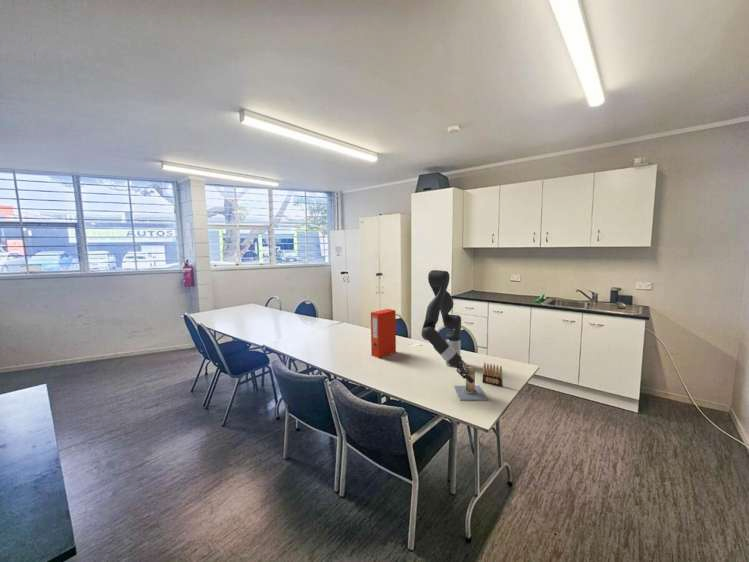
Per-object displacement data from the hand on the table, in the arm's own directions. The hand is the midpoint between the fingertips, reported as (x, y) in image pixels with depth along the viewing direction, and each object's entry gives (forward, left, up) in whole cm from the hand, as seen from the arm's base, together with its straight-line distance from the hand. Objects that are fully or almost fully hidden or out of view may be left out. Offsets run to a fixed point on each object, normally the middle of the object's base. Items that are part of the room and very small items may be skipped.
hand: (472, 378), depth 168 cm
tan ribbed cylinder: (0, -1, -8) cm, 8 cm away
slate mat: (0, -1, -8) cm, 8 cm away
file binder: (-62, -48, -8) cm, 79 cm away
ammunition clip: (-11, +14, -8) cm, 20 cm away
